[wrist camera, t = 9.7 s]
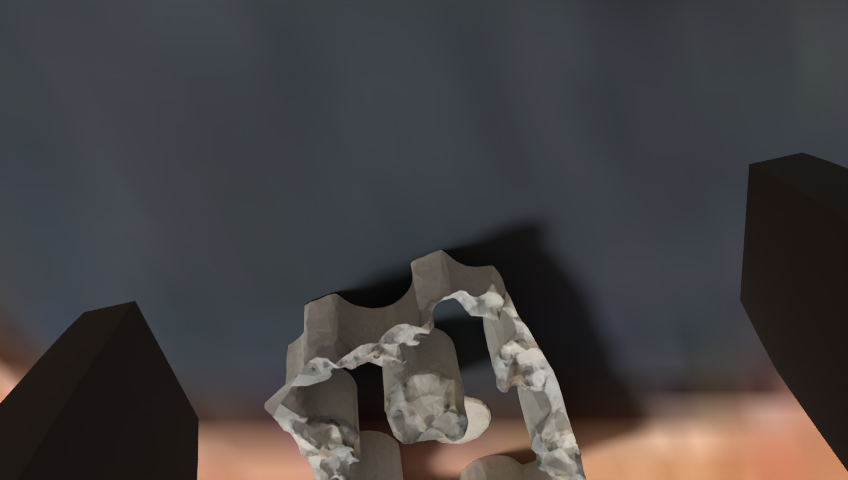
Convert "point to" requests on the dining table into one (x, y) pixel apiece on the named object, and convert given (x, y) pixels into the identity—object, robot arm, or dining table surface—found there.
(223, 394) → the dining table surface
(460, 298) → the egg carton
